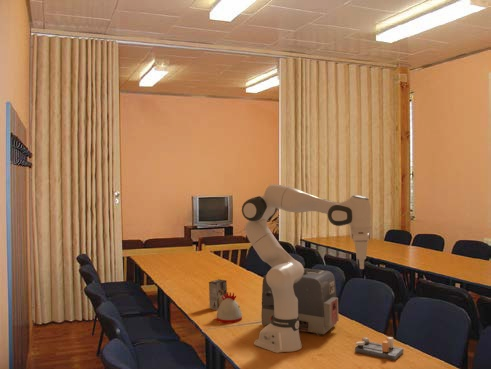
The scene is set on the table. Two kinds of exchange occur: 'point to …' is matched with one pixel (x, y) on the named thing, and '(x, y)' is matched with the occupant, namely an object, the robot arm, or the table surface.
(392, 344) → the fader ivory
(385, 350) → the fader orange
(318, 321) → the film projector
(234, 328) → the table surface
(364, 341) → the plate
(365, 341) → the button
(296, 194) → the robot arm
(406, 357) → the table surface
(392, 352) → the console
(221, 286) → the coffee box
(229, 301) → the kitchen timer
